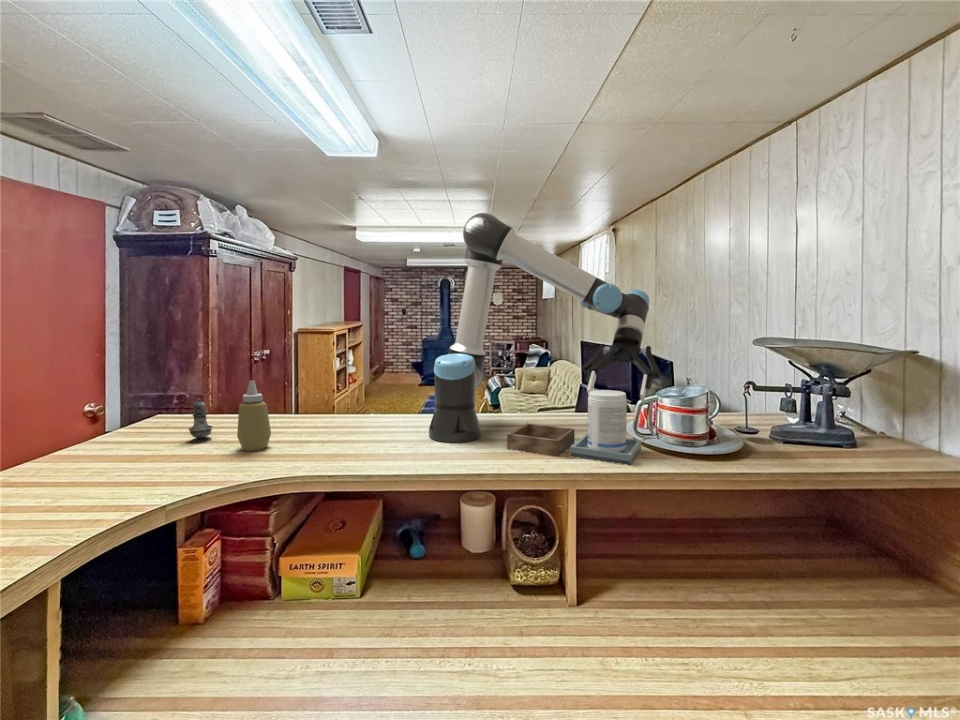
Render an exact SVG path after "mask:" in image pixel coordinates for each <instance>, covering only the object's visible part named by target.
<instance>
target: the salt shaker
mask: <svg viewBox="0 0 960 720" xmlns="http://www.w3.org/2000/svg"><path fill="white" fill-rule="evenodd" d="M207 415H208V413H207V410H206V403H205V402H204V401H201V398H197V401H196V402H194V403H193V414H192V417H193V425H192V427H189V428H188V430H187V431H189V433H190V435H191V437H192V438H193V439H191V440H190V443H191V444H192V443H193V444H202V443H207V442H210V441H212V440H213V438H212V437H211V436H209V435H210V434H211V433H212V431H213V430H212V429H213V427H214V426H213V425H209V423H208V422H207V421H208V420H207Z"/></svg>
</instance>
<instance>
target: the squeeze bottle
mask: <svg viewBox="0 0 960 720" xmlns="http://www.w3.org/2000/svg"><path fill="white" fill-rule="evenodd" d="M263 399H264V398H263V394H262V393H258V389H257V385H256V381H255V380H249V381H248V386H247V391H246V393H245V394H243V395H242V403H240V404H238V418H237V435H236V436H237V437H236V438H237V439H238V441H239V444H240V446H241V449H242V450H243V451H247V452H249V451H250V452H254V451H260V450H263V449H266V448H267V447H268V444H269V443H270V438H271V436H272V429H271V424H270V417H269V411H268V404H267V403H266V402H265V401H263Z"/></svg>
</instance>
